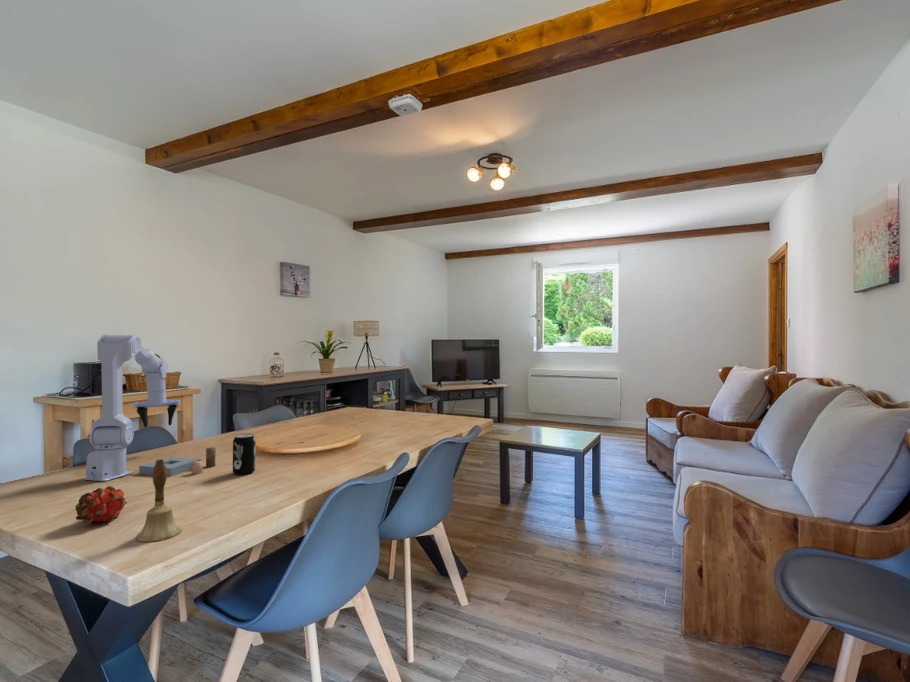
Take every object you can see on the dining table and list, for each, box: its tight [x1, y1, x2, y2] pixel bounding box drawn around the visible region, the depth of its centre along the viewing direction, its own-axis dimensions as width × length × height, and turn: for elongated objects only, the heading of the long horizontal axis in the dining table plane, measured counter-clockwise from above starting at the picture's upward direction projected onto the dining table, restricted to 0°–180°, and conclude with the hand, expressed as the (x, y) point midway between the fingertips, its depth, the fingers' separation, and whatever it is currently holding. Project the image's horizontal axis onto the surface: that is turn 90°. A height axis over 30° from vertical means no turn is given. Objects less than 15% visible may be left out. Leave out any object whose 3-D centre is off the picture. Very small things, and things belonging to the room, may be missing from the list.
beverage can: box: [232, 433, 257, 476], centre depth 145 cm, size 7×7×12 cm
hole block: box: [138, 456, 202, 477], centre depth 147 cm, size 12×12×2 cm
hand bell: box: [135, 458, 183, 543], centre depth 98 cm, size 8×8×16 cm
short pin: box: [191, 460, 203, 475], centre depth 144 cm, size 3×3×4 cm
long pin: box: [205, 447, 217, 468], centre depth 152 cm, size 3×3×6 cm
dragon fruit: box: [75, 485, 128, 526], centre depth 105 cm, size 8×8×12 cm
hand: (158, 425), depth 171 cm, fingers open, 7 cm apart
